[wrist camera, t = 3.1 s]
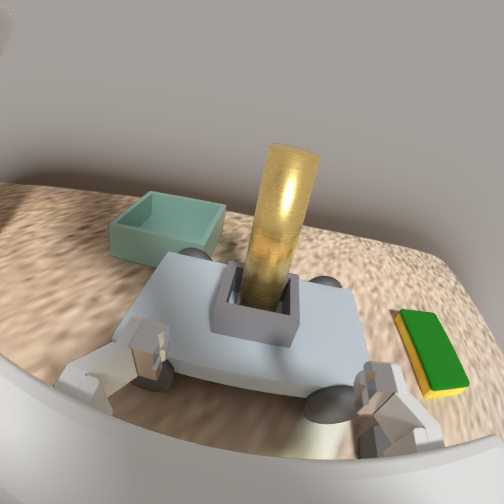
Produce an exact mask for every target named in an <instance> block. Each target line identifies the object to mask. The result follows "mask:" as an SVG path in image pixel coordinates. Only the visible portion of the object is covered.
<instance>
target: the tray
mask: <svg viewBox="0 0 504 504" xmlns="http://www.w3.org/2000/svg"><path fill="white" fill-rule="evenodd" d="M225 211H226V205H223V204H218V203H213V202H208V201H203V200H197V199H192V198H187V197H181V196H175V195H169V194H164V193H158V192H152V191H150V192H148V193H147V194H146V195H144V196H143V197H142V198H140V199H139V200H138V201H137V202H135V203H134V204H133V205H131V206H130V207H129V208H128V209H126V210H125V211H124V212H123V213H121V214H120V215H119V216H118V217H117V218H115V219H114V220H113V221H112V222H111V223H109V224H108V228H109V240H110V251H111V256H113V257H117V258H120V259H124V260H128V261H132V262H136V263H140V264H144V265H148V266H151V267H155V268H157V267H158V265H159V264H160V263H161V261H162V260H163V258H164V257H165V255H166V254H167V253H168V251H169V252H173V253H179V252H180V251H181V250H183V249H185V248H197V249H200V250H202V251H204V252H205V253H207V254H208V255H209V256H210V258H211V256H212V254H213V251H214V249H215V247H216V245H217V243H218V241H219V238H220V236H221V234H222V232H223V225H224V218H225Z"/></svg>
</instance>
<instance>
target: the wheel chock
mask: <svg viewBox="0 0 504 504" xmlns="http://www.w3.org/2000/svg"><path fill="white" fill-rule="evenodd" d="M358 443H359V451H360V459H368V458H381V457H384V455H383V452H384V451H385V450H386V449H388V448H389V447H390V446H392V443H391V442H390V440H389V439H388V437H387V436H386V434H385V433H384V431H383V430H382V428H381V427H380V426H373V427H372V428H371V429H369V430H368V431H367V432H366V433H364V434H363V435H362V436H361V437H359V438H358Z"/></svg>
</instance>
